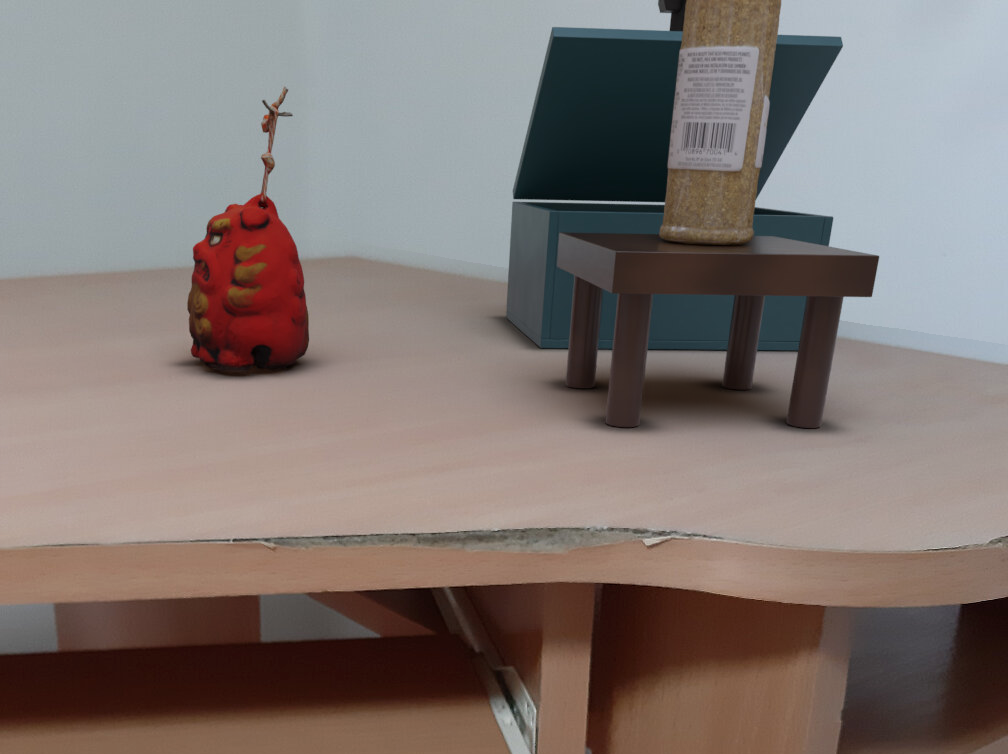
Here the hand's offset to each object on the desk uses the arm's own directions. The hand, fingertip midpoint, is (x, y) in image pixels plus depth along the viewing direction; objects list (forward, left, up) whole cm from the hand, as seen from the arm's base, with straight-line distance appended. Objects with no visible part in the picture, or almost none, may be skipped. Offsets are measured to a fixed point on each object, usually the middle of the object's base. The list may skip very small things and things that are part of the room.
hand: (681, 69), depth 71 cm
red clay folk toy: (+28, +14, -18) cm, 36 cm away
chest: (0, 0, -17) cm, 17 cm away
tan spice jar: (+5, +24, -10) cm, 26 cm away
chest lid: (0, -1, -4) cm, 4 cm away
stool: (+5, +24, -17) cm, 30 cm away
